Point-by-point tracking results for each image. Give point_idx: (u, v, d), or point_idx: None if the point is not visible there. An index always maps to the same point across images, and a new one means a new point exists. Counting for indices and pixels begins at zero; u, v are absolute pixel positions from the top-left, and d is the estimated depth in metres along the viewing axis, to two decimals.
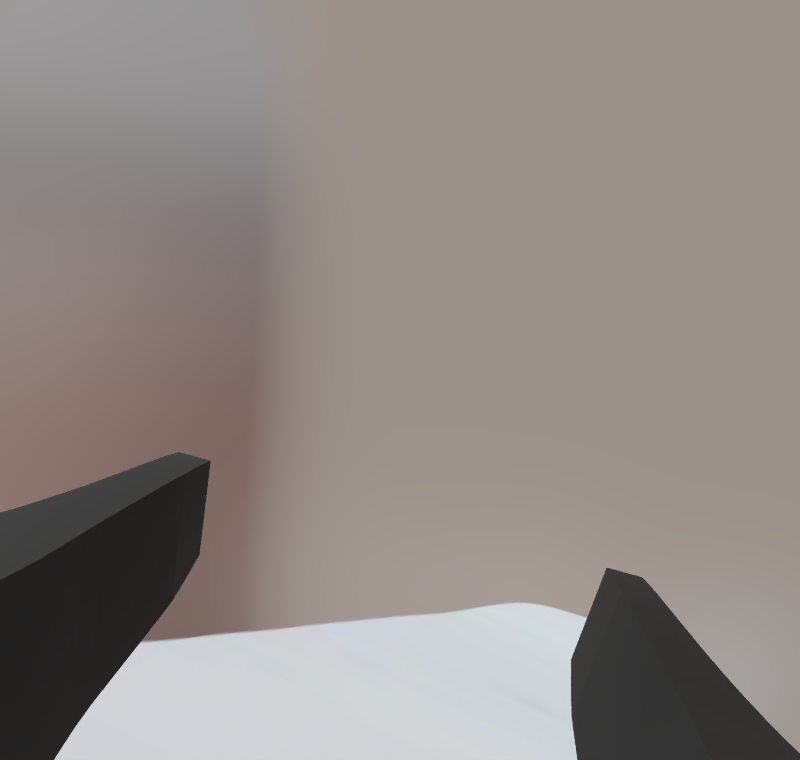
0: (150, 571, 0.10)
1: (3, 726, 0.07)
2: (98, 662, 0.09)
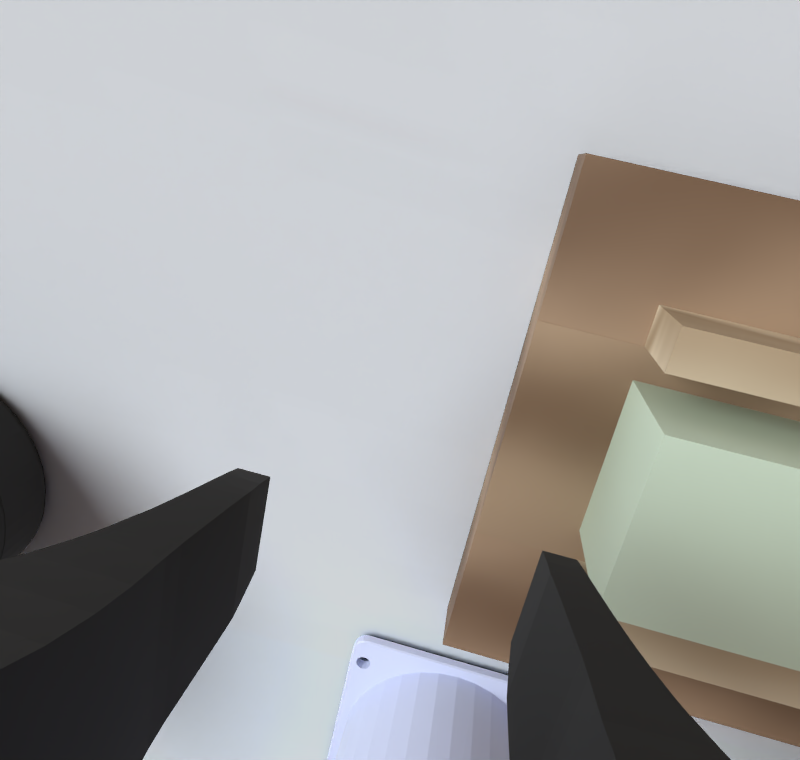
0: (216, 590, 0.10)
1: (94, 754, 0.07)
2: (170, 683, 0.09)
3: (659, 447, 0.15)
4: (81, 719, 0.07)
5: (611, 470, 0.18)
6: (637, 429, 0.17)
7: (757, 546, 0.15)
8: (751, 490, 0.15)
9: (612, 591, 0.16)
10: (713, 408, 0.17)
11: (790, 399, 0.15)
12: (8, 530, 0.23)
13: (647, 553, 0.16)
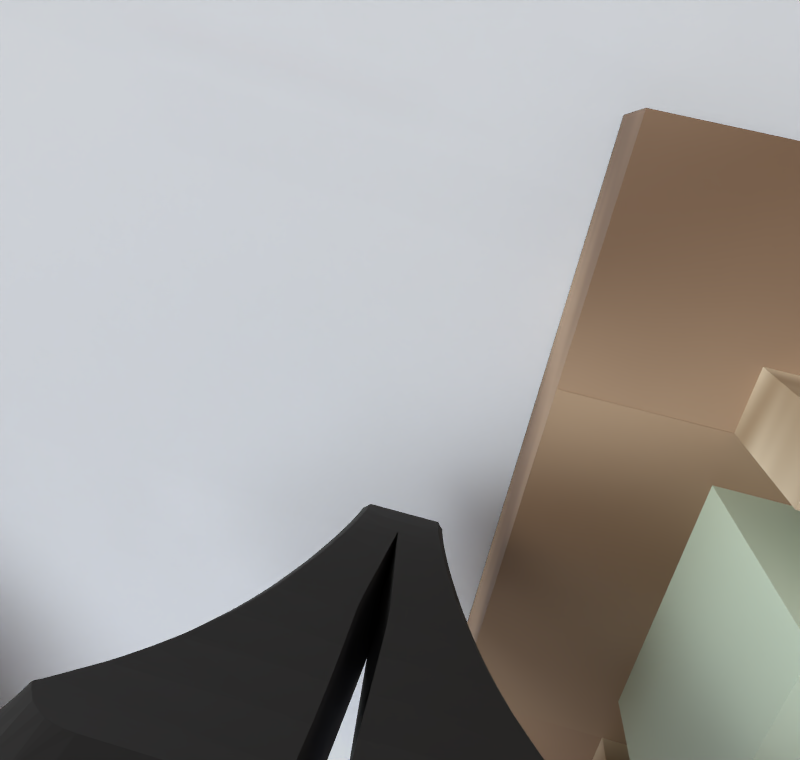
0: (366, 633, 0.10)
1: None
2: (332, 732, 0.09)
3: None
4: None
5: (677, 634, 0.11)
6: (734, 592, 0.10)
7: None
8: None
9: None
10: None
11: None
12: None
13: None
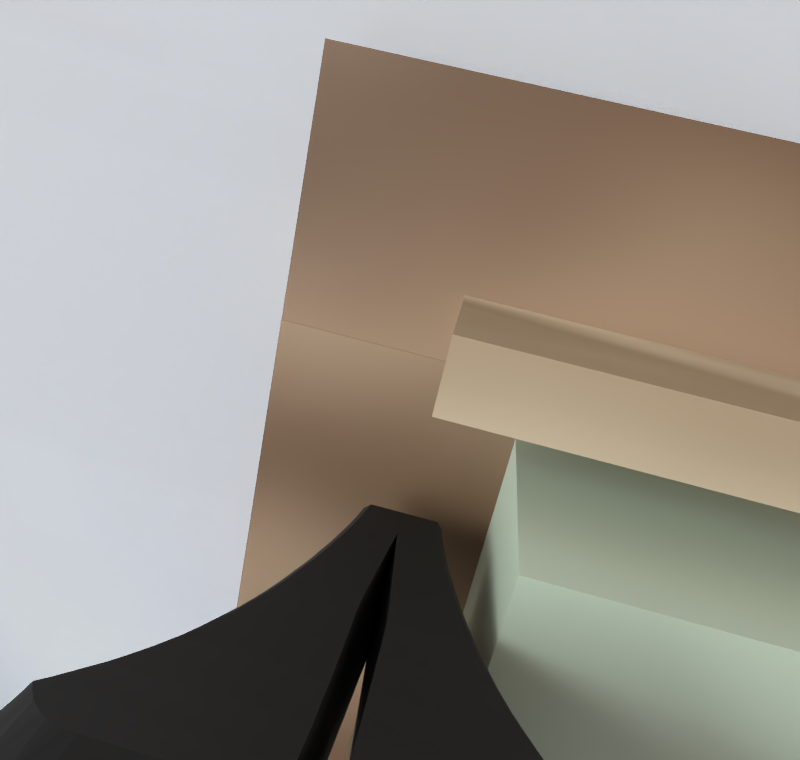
0: (367, 633, 0.10)
1: None
2: (332, 732, 0.09)
3: (511, 595, 0.08)
4: None
5: (480, 583, 0.11)
6: (504, 534, 0.10)
7: None
8: (682, 675, 0.08)
9: None
10: (638, 491, 0.11)
11: (647, 465, 0.09)
12: None
13: None
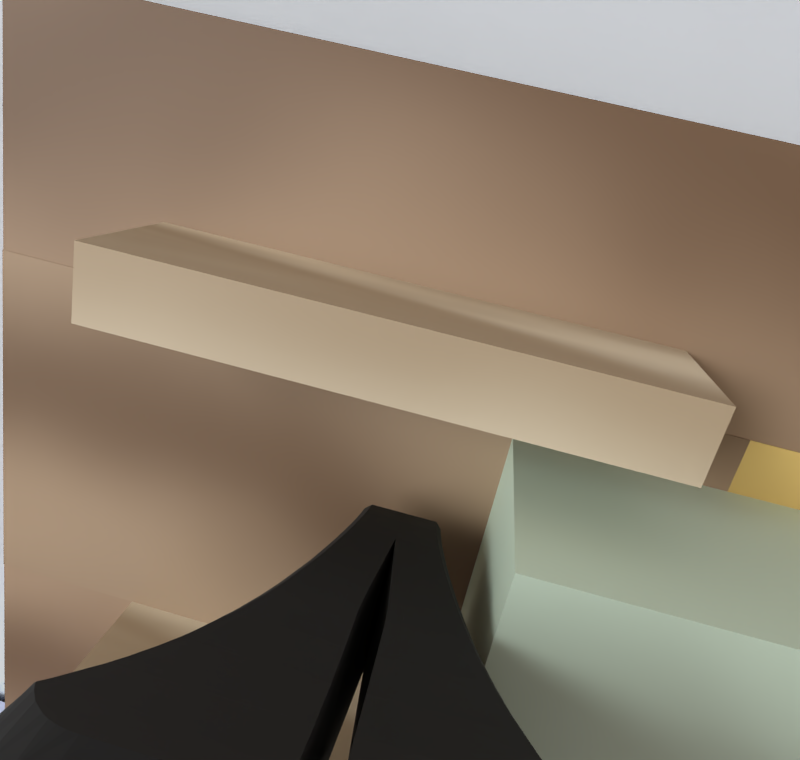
0: (368, 633, 0.10)
1: None
2: (334, 732, 0.09)
3: (508, 593, 0.08)
4: None
5: (477, 582, 0.11)
6: (501, 532, 0.10)
7: None
8: (679, 672, 0.08)
9: None
10: (634, 489, 0.11)
11: (266, 366, 0.09)
12: None
13: None
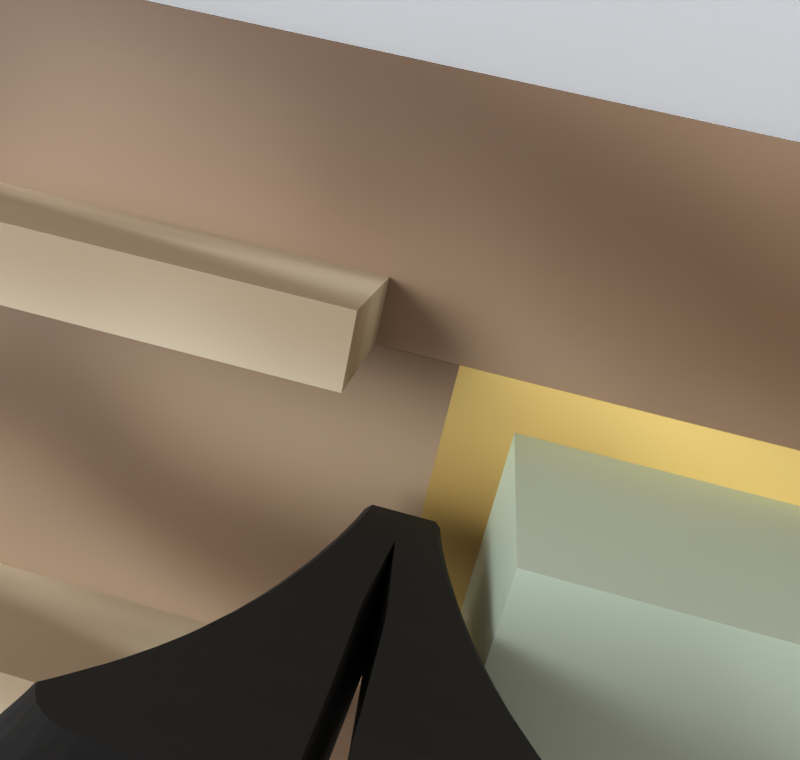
0: (368, 633, 0.10)
1: None
2: (334, 732, 0.09)
3: (509, 588, 0.08)
4: None
5: (478, 578, 0.11)
6: (503, 528, 0.10)
7: None
8: (681, 668, 0.08)
9: None
10: (636, 485, 0.11)
11: None
12: None
13: None
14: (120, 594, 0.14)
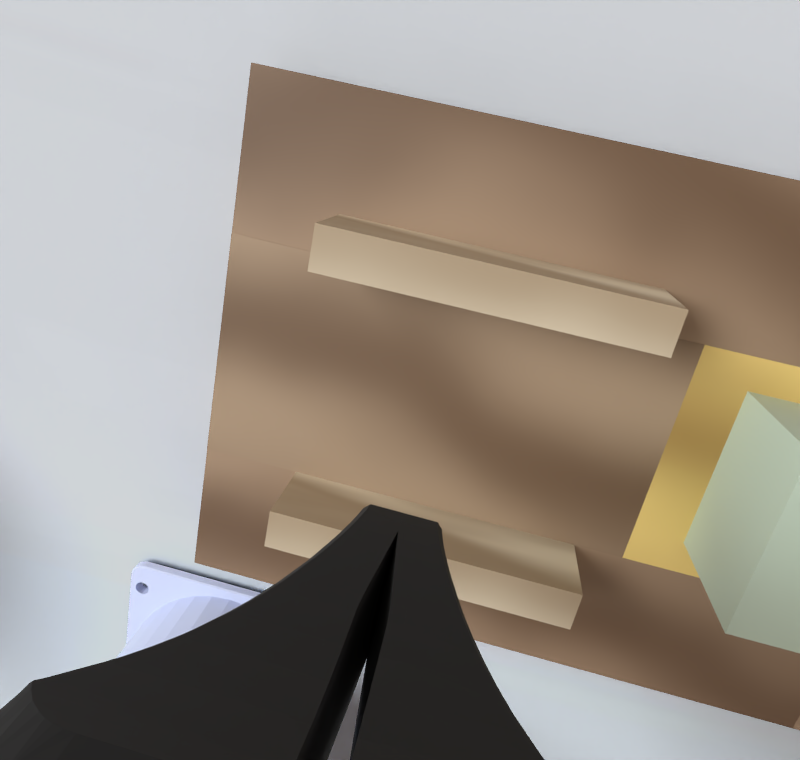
0: (366, 633, 0.10)
1: None
2: (332, 732, 0.09)
3: None
4: None
5: (727, 483, 0.18)
6: (764, 444, 0.16)
7: None
8: None
9: (744, 610, 0.16)
10: None
11: (423, 294, 0.16)
12: None
13: (784, 572, 0.15)
14: (438, 507, 0.21)
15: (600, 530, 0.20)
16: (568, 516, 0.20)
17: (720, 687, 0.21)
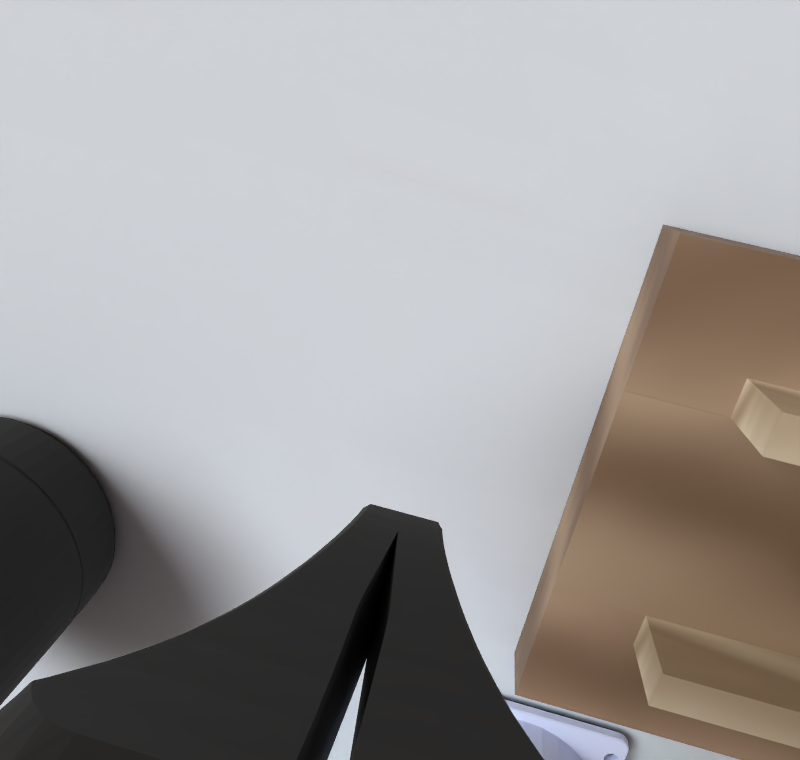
0: (367, 633, 0.10)
1: None
2: (332, 732, 0.09)
3: None
4: None
5: None
6: None
7: None
8: None
9: None
10: None
11: None
12: (85, 582, 0.23)
13: None
14: (796, 654, 0.20)
15: None
16: None
17: None
